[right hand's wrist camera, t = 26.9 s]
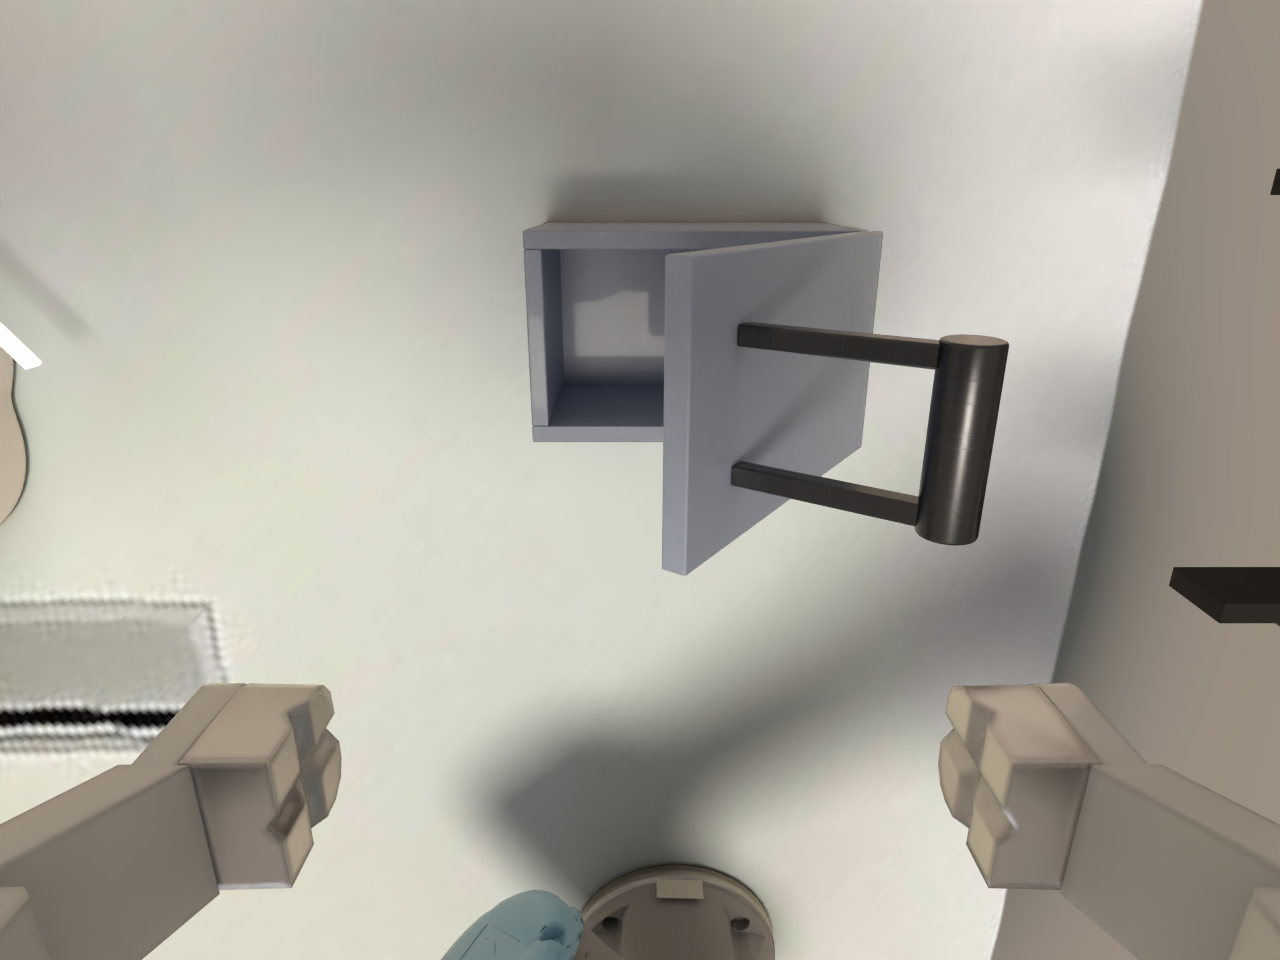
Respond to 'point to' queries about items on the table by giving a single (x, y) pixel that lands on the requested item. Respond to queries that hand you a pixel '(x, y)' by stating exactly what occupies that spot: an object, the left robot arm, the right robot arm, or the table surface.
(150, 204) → the table surface
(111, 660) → the table surface
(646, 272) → the chest
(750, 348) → the lid
